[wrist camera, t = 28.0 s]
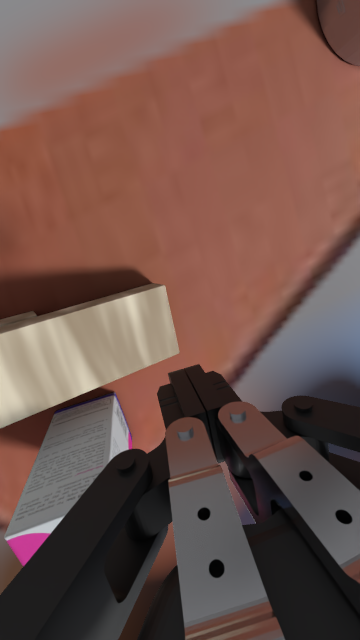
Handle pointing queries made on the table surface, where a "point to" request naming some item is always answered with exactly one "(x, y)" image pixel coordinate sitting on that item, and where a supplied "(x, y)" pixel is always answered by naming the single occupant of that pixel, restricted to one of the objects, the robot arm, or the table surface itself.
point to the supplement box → (66, 468)
